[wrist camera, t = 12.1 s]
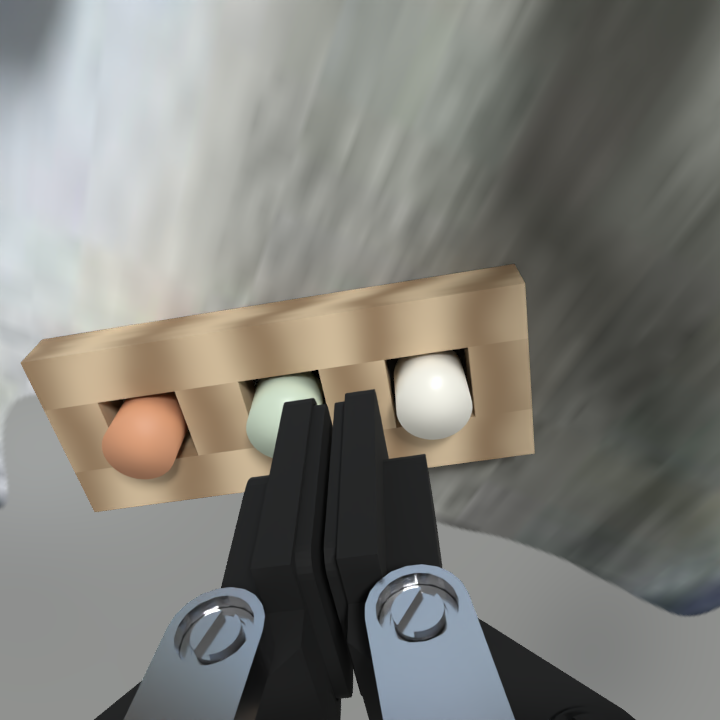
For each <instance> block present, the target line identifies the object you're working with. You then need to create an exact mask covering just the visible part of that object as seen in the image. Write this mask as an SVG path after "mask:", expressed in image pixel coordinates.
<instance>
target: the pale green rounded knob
mask: <svg viewBox="0 0 720 720" xmlns="http://www.w3.org/2000/svg"><path fill="white" fill-rule="evenodd" d="M309 398H314V399H315V400H316V402H317V405H322V404H323V403H324V391H323V387H322V384H321V382H320V381H319V379H318V378H317V377H316V376H315V375H314V374H313V373H312V372H310V371H307V372H300V373H293V374H287V375H280V376H273V377H266V378H260V380H259V381H258V384H257V387H256V391H255V394H254V398H253V402H252V405H251V409H250V412H249V416H248V420H247V423H246V432H247V436H248V438H249V440H250V442H251V444H252V445H253V446H254V447H255V448H256V449H257V450H258V451H259V452H261V453H262V454H264V455H266V456H268V457H271V458H273V454H274V449H275V444H276V439H277V434H278V429H279V424H280V419H281V414H282V409H283V405H284V403H285V402H289V401H295V400H302V399H309Z"/></svg>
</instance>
